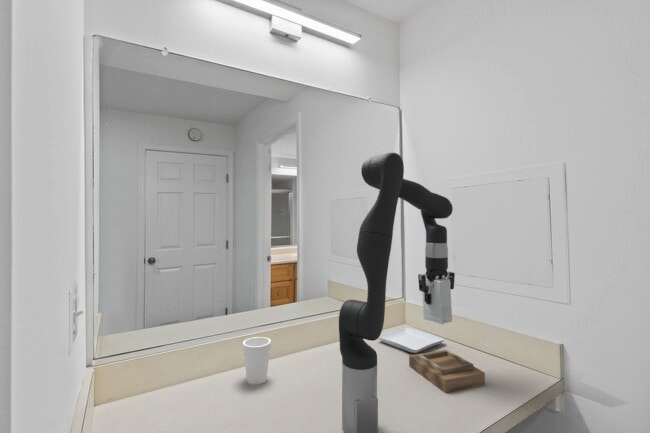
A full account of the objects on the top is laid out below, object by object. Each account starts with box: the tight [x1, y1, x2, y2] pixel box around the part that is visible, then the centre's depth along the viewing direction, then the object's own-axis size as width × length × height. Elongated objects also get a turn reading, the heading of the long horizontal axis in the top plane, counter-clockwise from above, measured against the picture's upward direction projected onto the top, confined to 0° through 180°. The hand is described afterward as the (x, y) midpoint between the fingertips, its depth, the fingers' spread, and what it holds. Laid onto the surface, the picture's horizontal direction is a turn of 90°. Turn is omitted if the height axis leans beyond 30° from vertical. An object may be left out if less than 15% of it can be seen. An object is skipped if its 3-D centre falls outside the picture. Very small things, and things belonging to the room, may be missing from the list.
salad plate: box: [377, 326, 445, 354], centre depth 148 cm, size 21×21×3 cm
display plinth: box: [408, 349, 486, 393], centre depth 119 cm, size 20×16×6 cm
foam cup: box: [242, 336, 272, 385], centre depth 115 cm, size 10×9×13 cm
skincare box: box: [421, 277, 453, 325], centre depth 118 cm, size 8×6×15 cm
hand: (436, 302), depth 118 cm, fingers closed on skincare box, 6 cm apart
